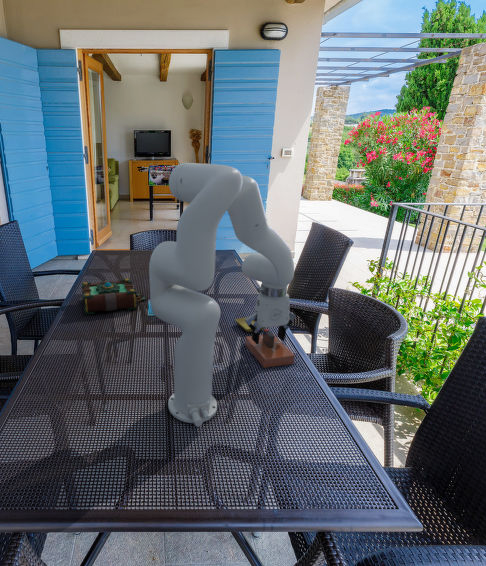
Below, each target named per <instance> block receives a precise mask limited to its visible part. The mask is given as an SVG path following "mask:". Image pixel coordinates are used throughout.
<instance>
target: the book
mask: <svg viewBox="0 0 486 566" xmlns="http://www.w3.org/2000/svg"><path fill="white" fill-rule="evenodd" d="M81 294H82V302H83V304H84V306H83V309H84V315H93V314H96V313H95V312H103V311H105V312H112V311H113V312H114V311H117V310H122V309H126V310H127V311H129V310H130V311H131V310H137V309H138V308H137V306H138V305H137V302H141V301H146V300H147V296H142V294H141V293H140V292H138V293H137V291H136V289H135V287H134V285H133V284H132V280H131V278H128V277H127V278H121V280H117V281H116V280H115V281H112V280H107V279H105V280H104V281H100V282H96V283H95V282H93V283H91V281H87V282H85V281H84V282H81Z"/></svg>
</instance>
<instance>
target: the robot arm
mask: <svg viewBox="0 0 486 566" xmlns="http://www.w3.org/2000/svg"><path fill="white" fill-rule="evenodd" d="M168 188H169V190H170V193H171V194H172V196H173V197H174V198H175V199H176V200H178V201H180V202H184V203H188V205H187V206H186V208H185V209H184V210H183V212H182V213H181V215H180V217H179V218H178V221H177V225H176V226H177V227H176V241H174V240H165V241H163V242H160V243H159V244H157V245H156V247H155V248H154V249H153V251H152V254H151V255H150V259H149V265H148V274H149V276H148V277H149V297H150V299H149V301H150V307H151V311H152V313H153V315H154V316H155V317H156V318H157V319H159V320H160V321H163V322H165V323H167V324H169V325H171V326H174V327H175V328H177V329H179V330H180V331H181V335H180V337H179V338H177V340H176V342H175V345H174V370H173V371H174V374H173V375H174V376H173V377H174V381H173V382H174V383H173V393H172V394H171V395H170V397H169V398H168V402H167V408H168V411H169V413H170V414H171V416H172V417H174V418H175V419H176V420H179V421H181V422H183V423H188V424H194V426H195V427H197V428H198V427H201V426H203V425H204V424H203V423H205V422H208V421H209V420H211V419H212V418H213V417H214V416H215V415H216V414H217V411H218V402H217V399H216V398H215V396H214V395H213V377H214V376H213V374H214V358H215V357H214V355H215V343H216V335H217V330H218V327H219V323H220V319H221V308H220V305H219V303H218V302H217V301H216V300H215V299H214V298H212V297H210V296H209V295H207V294H204V293H202V291H206V290H207V289H209V288H210V287H211V286H212V284H213V283H214V280H215V275H216V256H217V255H216V252H217V250H216V249H217V248H216V247H217V234H218V233H217V232H218V227H219V224H220V222H221V220H222V219H223V217H224V215H225V213H226V212H227V214H228V217H229V218H230V223H231V226H232V229H233V231H234V234H235V237H236V239H237V240H238V241H239V242H241V243H242V244H243V245H245V246H246V247H248V248H249V249H251V250H253V251H255V252H253V253H251V254H249V255H247V256H246V257H245V258H244V259H243V261H242V264H241V272H242V274H243V275H244V276H245V278H248V279H250V280H254V281H256V282H260V286H259V287H258V288H257V289H256V291H257V293H258V295H257V298H256V302H255V305H254V312H253V313H252V314H250V315H249V316H247V317H248V318H246V319H245V322H246V323H247V325H248V326H249V327H250V328H251V329H252V332H251V336H252V340H253V341H254V342H255V343H256V344H258V343H259V335H261V334H260V332H259V331H261V330H260V329H261V327H262V328H264V329H267V328H273V327H278V330H277V338H278V339H279V340H280V341H281V342H284V341H285V338H286V335H287V330H289V327H290V326H291V325H292V324H293V321H295V319H296V317H297V315H296V314H295V313H294V312H292V311H290V309H291V308H290V307H291V305H290V304H291V303H290V295H289V293H287V292H288V286H289V285H290V284H291V283H292V281H293V279H294V277H295V262H294V257H293V253H292V250H291V247H290V246H289V244H288V243H287V242H286V240H284V239H283V238H282V236H280V234H278V232H277V231H276V230H275V229H273V227H271V226H270V225H269V222H268V218H267V214H266V211H265V207H264V202H263V198H262V195H261V191H260V187H259V184H258V182H257V181H256V180H255V179H254V178H253V177H251V176H247V175H243V174H242V172H240V170H239V169H237V168H236V167H233V166H231V165H226V164H218V163H198V162H197V163H196V162H182V163H179V164H178V165H176V166H175V167H173V169H172V170H171V172H170V174H169V178H168ZM253 320H254V321H255V322H254V324H253V325H252V323H251V322H252V321H253ZM257 325H258V326H257Z"/></svg>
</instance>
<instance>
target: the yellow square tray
mask: <svg viewBox="0 0 486 566" xmlns="http://www.w3.org/2000/svg"><path fill="white" fill-rule="evenodd" d="M248 317H249V316H247V317H240V318H235V319H234V320H235V322H236V323H237V324H238V326H240V327H241V328H242V329H243V330H244V331H245V332H247V333H252V329H251V328H250V327H249V326H248V325H247V323H246V322H245V319H246V318H248ZM254 322H255V321H254V320H253V321H252V322H251V323H252V325H253V324H254ZM257 326H258V325H257ZM264 329H265V328H262V327H261V329H260V330H259V331H262V330H264Z"/></svg>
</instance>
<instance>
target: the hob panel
mask: <svg viewBox="0 0 486 566" xmlns="http://www.w3.org/2000/svg"><path fill="white" fill-rule="evenodd" d="M272 334H273V335H274V336H275V338H274V346H273V347H272V348H269V347H268V346H267V345H266V344H265V343H264V342H263V341H262V339H263V334H260V335H259V343H258V344H256V343H255V342H254V341H253V340H252V335H250V336H245V341H244V345H245V346H246V348H247V349H248V351H250V353H251V354H252V355H253V357H254V358H255V359H256V360H257V361H258V363H259V364H260V365H261V366H262V367H263V368H264V369H265V368H272V367H273V368H274V367H280V366H287V365H288V366H289V365H293V364H295V358H296V355H295V354H294V353H293V352H292V351H291V350H290V349H289V347H287V346H286V345H285V344H284V343H283V341H282V340H281V339H280V338H279V337H278V336H276V335H275V334H274V333H272Z"/></svg>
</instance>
